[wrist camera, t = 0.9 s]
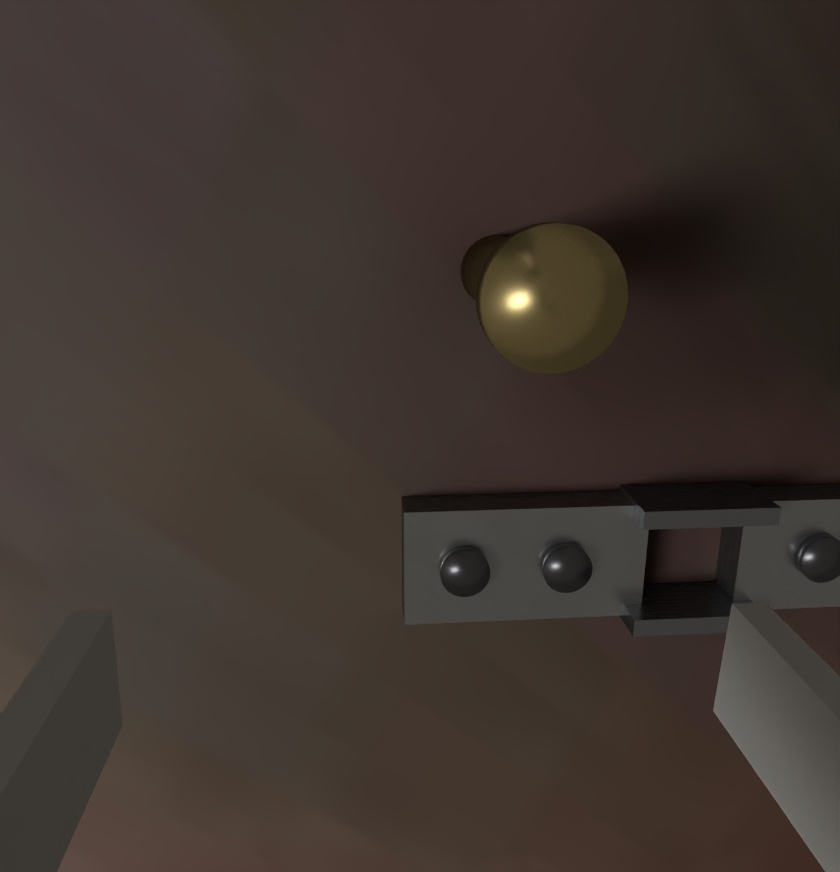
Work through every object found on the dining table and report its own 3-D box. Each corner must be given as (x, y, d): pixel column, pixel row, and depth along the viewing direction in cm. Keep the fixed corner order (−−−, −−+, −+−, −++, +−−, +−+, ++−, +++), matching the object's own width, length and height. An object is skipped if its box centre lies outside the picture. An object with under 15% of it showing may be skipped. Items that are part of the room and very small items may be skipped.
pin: (443, 216, 34) (482, 223, 23) (549, 216, 34) (634, 222, 24) (442, 324, 35) (478, 375, 25) (544, 322, 36) (622, 373, 25)
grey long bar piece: (402, 609, 39) (406, 646, 36) (401, 491, 37) (405, 519, 34) (924, 588, 42) (973, 621, 38) (949, 475, 40) (1003, 500, 36)
